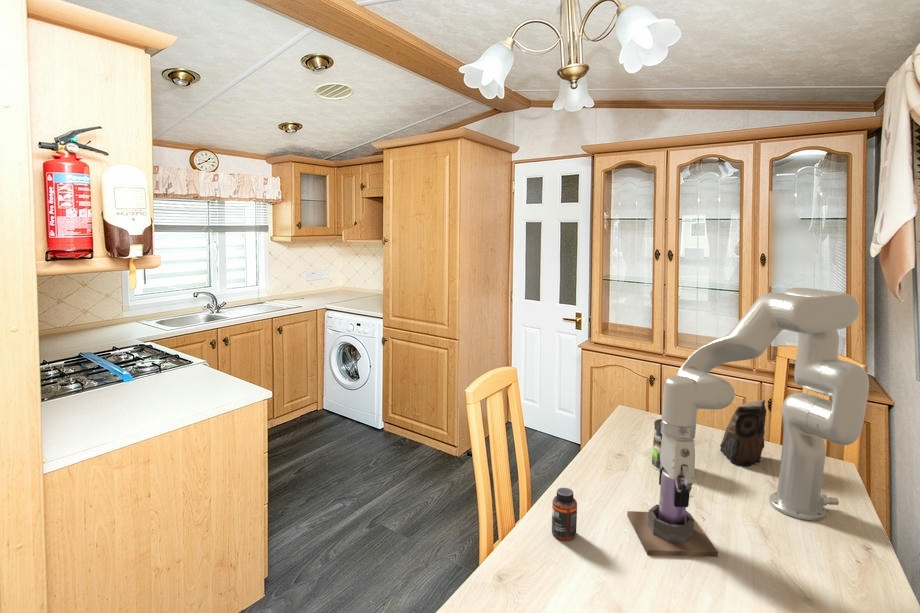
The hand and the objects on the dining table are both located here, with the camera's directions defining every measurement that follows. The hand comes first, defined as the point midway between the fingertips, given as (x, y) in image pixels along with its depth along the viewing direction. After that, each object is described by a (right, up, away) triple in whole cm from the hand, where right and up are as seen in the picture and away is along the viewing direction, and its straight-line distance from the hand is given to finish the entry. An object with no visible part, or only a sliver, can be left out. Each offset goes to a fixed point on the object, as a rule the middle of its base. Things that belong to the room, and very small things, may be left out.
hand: (673, 495), depth 122 cm
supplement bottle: (-26, -10, +2) cm, 28 cm away
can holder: (0, -10, +2) cm, 10 cm away
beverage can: (0, -9, +2) cm, 9 cm away
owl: (+41, -4, +44) cm, 60 cm away
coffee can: (+14, -5, +37) cm, 40 cm away
